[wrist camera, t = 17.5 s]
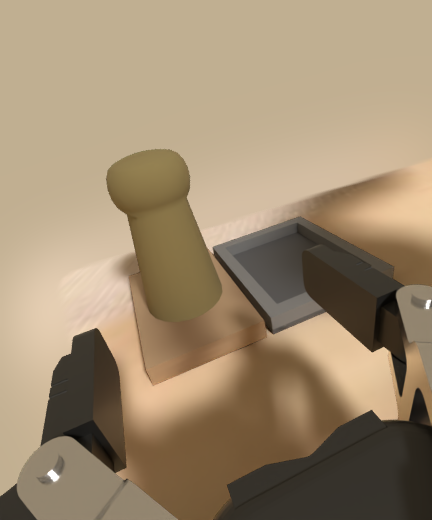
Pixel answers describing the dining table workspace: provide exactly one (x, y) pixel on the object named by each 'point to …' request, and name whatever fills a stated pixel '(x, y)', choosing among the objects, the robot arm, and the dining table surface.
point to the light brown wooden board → (195, 330)
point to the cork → (165, 234)
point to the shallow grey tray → (282, 269)
